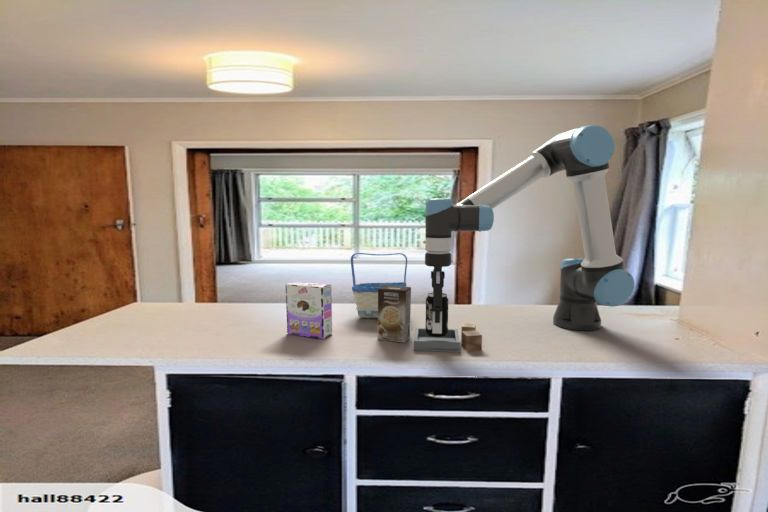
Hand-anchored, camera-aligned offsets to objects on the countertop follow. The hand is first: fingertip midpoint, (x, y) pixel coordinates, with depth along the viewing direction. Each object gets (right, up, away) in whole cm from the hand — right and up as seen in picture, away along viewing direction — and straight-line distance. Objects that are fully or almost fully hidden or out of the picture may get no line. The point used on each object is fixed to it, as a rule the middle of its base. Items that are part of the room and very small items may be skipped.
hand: (436, 329), depth 131 cm
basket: (-18, -1, +32) cm, 37 cm away
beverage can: (0, -2, 0) cm, 2 cm away
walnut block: (+10, -5, -3) cm, 11 cm away
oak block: (+11, -4, +7) cm, 13 cm away
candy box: (-39, -4, +10) cm, 41 cm away
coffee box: (-13, -4, +6) cm, 14 cm away
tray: (0, -4, +1) cm, 4 cm away
